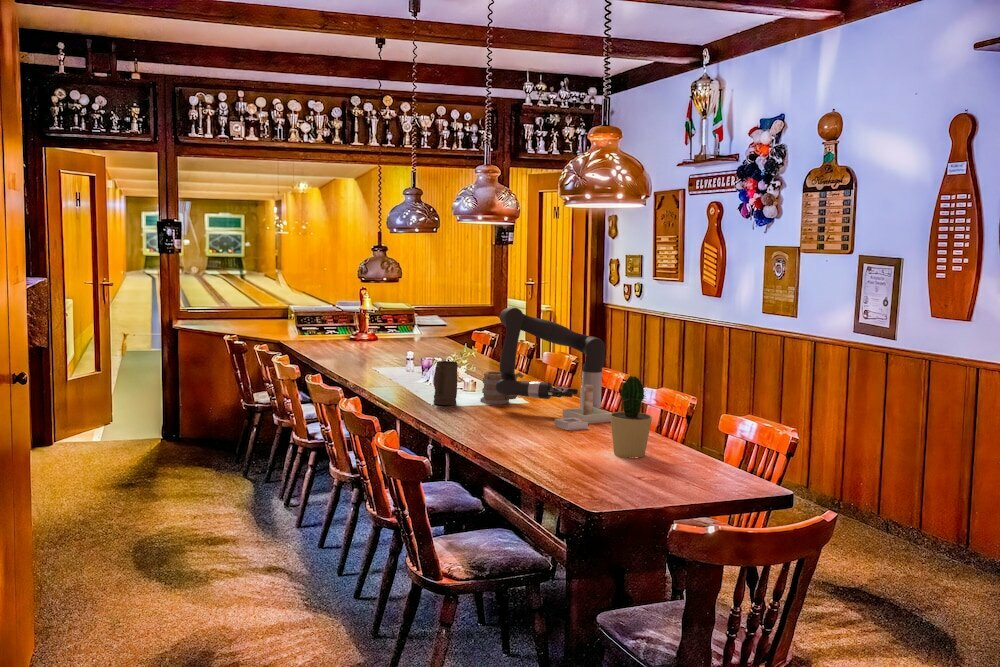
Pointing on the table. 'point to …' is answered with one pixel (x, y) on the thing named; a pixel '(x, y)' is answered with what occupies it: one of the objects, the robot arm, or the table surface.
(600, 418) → the sage tray
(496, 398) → the tankard
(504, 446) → the table surface
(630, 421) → the potted cactus
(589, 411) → the maple peg
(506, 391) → the robot arm
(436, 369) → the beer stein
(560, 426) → the peg holder
